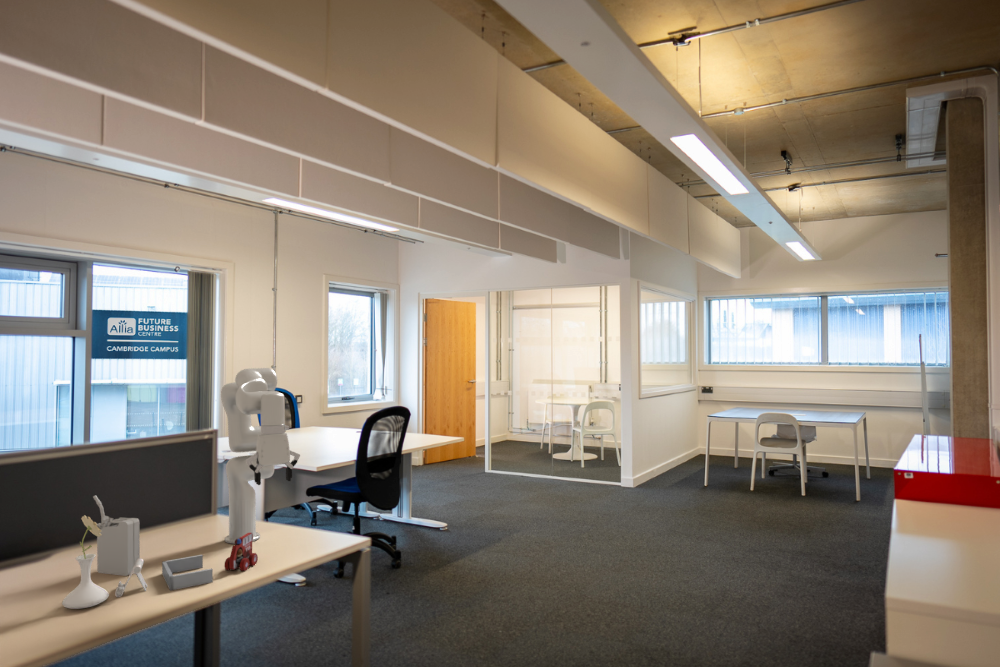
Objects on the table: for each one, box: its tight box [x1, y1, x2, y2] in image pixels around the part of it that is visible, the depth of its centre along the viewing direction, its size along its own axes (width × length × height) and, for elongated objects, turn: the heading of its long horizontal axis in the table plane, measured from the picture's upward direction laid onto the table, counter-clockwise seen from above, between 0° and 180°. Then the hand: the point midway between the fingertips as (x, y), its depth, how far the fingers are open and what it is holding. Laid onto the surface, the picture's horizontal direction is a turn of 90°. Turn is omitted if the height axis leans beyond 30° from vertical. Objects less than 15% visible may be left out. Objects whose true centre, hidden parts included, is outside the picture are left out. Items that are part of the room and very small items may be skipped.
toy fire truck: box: [223, 533, 259, 572], centre depth 220 cm, size 7×12×10 cm, turn 170°
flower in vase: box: [61, 514, 110, 610], centre depth 191 cm, size 13×11×25 cm
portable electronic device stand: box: [114, 557, 148, 598], centre depth 200 cm, size 9×8×8 cm
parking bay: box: [161, 554, 214, 591], centre depth 211 cm, size 18×12×4 cm, turn 34°
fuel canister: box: [92, 495, 141, 577], centre depth 218 cm, size 15×5×25 cm, turn 73°
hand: (273, 482), depth 217 cm, fingers open, 9 cm apart
